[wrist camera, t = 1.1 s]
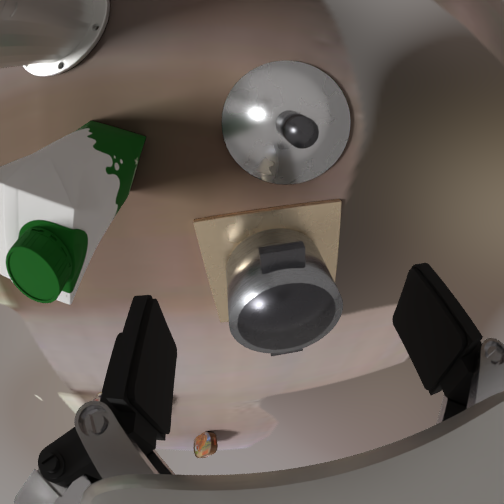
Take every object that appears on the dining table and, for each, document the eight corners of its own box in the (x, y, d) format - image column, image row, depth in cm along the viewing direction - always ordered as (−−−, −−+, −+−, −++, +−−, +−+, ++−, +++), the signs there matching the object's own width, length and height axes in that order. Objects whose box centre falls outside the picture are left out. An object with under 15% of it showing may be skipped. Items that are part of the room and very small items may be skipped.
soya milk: (135, 200, 30) (68, 337, 14) (70, 179, 27) (-29, 290, 11) (157, 131, 26) (68, 222, 10) (85, 110, 23) (-49, 177, 7)
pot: (193, 219, 33) (186, 271, 25) (339, 198, 33) (374, 242, 25) (220, 318, 43) (223, 371, 35) (330, 300, 44) (350, 348, 36)
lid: (213, 68, 23) (211, 64, 18) (343, 61, 24) (370, 60, 19) (231, 188, 32) (234, 212, 26) (345, 174, 32) (368, 195, 27)
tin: (209, 428, 75) (210, 451, 68) (218, 430, 76) (219, 452, 69) (192, 439, 81) (193, 459, 75) (200, 440, 83) (201, 460, 76)
